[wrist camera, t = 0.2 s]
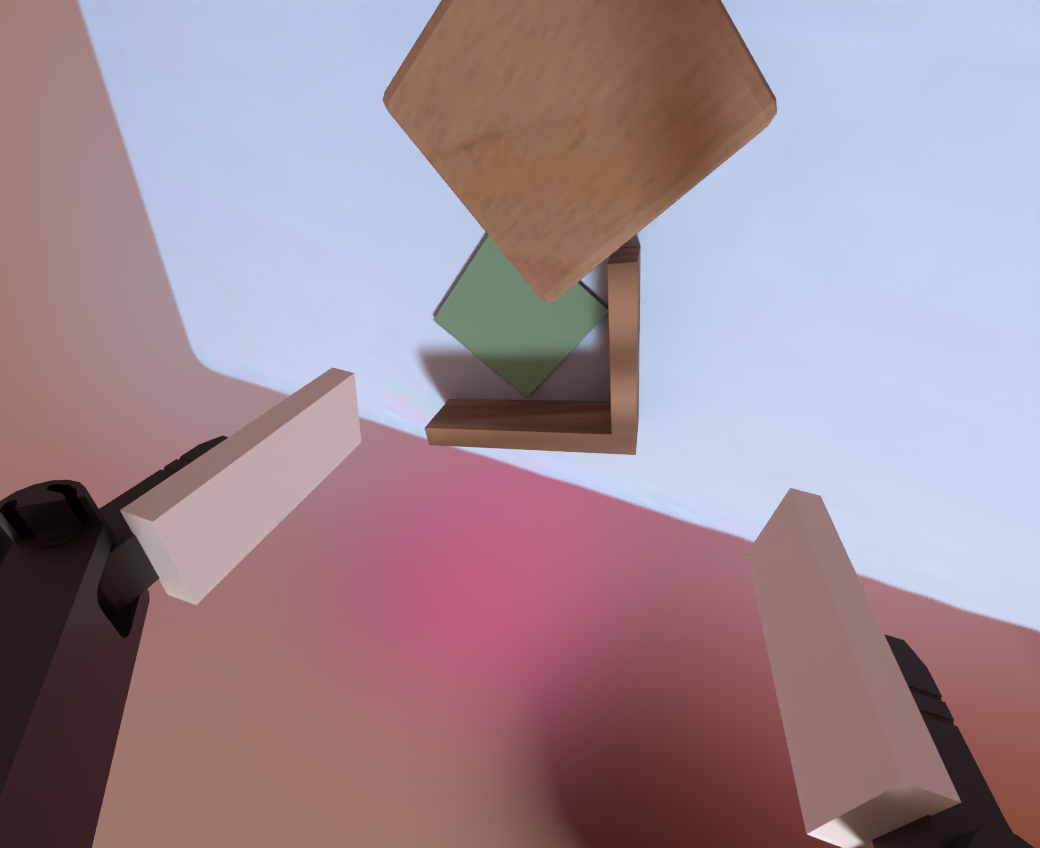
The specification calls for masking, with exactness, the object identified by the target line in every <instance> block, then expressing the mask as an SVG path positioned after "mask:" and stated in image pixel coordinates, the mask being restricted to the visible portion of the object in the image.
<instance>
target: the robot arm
mask: <svg viewBox="0 0 1040 848" xmlns="http://www.w3.org/2000/svg"><path fill="white" fill-rule="evenodd" d="M360 443H361V437H360V426H359V416H358V406H357V396H356V387H355V377H354V373H351V372H348V371H344V370H340V369H336V368H331V369H330V370H328V371H327V372H325V373H324V374H322V375H321V376H319V377H318V378H316V379H315V380H313V381H312V382H310V383H309V384H307V385H306V386H304V387H303V388H301V389H300V390H298V391H297V392H295V393H294V394H292V395H291V396H289V397H288V398H287V399H285V400H283V401H282V402H280V403H279V404H278V405H276V406H275V407H273V408H271V409H270V410H269V411H267V412H266V413H264V414H263V415H261V416H260V417H258V418H257V419H255V420H254V421H252V422H251V423H249V424H248V425H246V426H245V427H243V428H242V429H240V430H239V431H237V432H236V433H234V434H233V435H231V436H230V437H225V436H220V437H218V438H215V439H213V440H210V441H207V442H204V443H202V444H199V445H198V446H196V447H195V448H193V449H191V450H190V451H188V452H187V453H185V454H184V455H182V456H181V457H180V459H179V460H177V459H176V460H174V461H173V462H171V463H170V464H168V465H167V466H165V467H164V470H159V471H157V472H156V473H154V474H153V475H151V476H150V477H148V478H146V479H145V480H143V481H142V482H140V483H139V484H137V485H136V486H134V487H133V488H131V489H129V490H128V491H126V492H125V493H123V494H122V495H120V496H119V497H117V498H115V499H114V500H112V501H111V502H109V503H108V504H106V505H105V506H103V507H101V508H100V509H98V507H97V506H96V504H95V502H94V501H93V499H92V498H91V496H90V494H89V492H88V491H87V489H86V488H85V487H84V486H83V485H82V484H81V483H80V482H76V481H71V480H53V481H48V482H43V483H39V484H35V485H32V486H29V487H27V488H24V489H21V490H19V491H16V492H15V493H13V494H11V495H9V496H8V497H6V498H5V499H3V500H1V501H0V848H92V844H93V840H94V835H95V832H96V827H97V823H98V818H99V814H100V810H101V806H102V801H103V797H104V793H105V789H106V784H107V780H108V776H109V771H110V767H111V763H112V759H113V754H114V750H115V746H116V741H117V737H118V733H119V729H120V724H121V720H122V716H123V712H124V707H125V703H126V699H127V695H128V690H129V686H130V682H131V677H132V673H133V668H134V665H135V660H136V656H137V652H138V647H139V643H140V639H141V634H142V630H143V626H144V621H145V618H146V613H147V609H148V605H149V591H148V590H147V588H149V587H150V586H151V585H152V584H153V583H154V582H156V581H157V580H158V579H159V580H160V582H161V583H162V585H163V587H164V589H165V591H166V592H167V594H168V595H170V596H173V597H176V598H178V599H181V600H184V601H186V602H189V603H192V604H195V605H196V604H198V603H199V602H200V601H201V600H202V599H203V598H204V597H205V596H206V595H207V594H208V593H209V592H210V591H211V590H212V588H214V587H215V586H216V585H217V584H218V583H219V582H220V581H221V580H222V579H223V578H224V577H225V576H226V575H227V574H228V573H229V572H230V571H231V570H232V569H233V568H234V567H235V566H236V565H237V564H238V563H239V562H240V561H241V560H242V559H243V558H244V557H245V556H246V555H247V554H248V553H249V552H250V551H251V550H252V549H253V548H254V547H255V546H256V545H257V544H258V543H259V542H260V541H261V540H262V539H264V538H265V536H267V535H268V534H269V533H270V532H271V531H272V530H273V529H274V528H275V527H276V526H277V525H278V524H279V523H280V522H281V521H282V520H283V519H284V518H285V517H286V516H287V515H288V514H289V513H290V512H291V511H292V510H293V509H294V508H295V507H296V506H297V505H298V504H299V503H300V502H301V501H302V500H303V499H304V498H305V497H306V496H307V495H308V494H309V493H310V492H311V491H312V490H313V489H314V488H315V487H316V486H317V485H318V484H319V483H320V482H321V481H322V480H323V479H324V478H325V477H326V476H327V475H328V474H329V473H330V472H331V471H332V470H333V469H335V467H337V465H338V464H340V462H342V461H343V460H344V459H345V458H346V457H347V456H348V455H349V454H350V453H351V452H352V451H353V450H354V449H355V448H356V447H357V446H358V445H359V444H360ZM747 557H748V561H749V566H750V570H751V576H752V580H753V585H754V590H755V594H756V599H757V604H758V608H759V613H760V618H761V622H762V627H763V632H764V636H765V641H766V646H767V650H768V655H769V660H770V665H771V669H772V674H773V679H774V683H775V688H776V692H777V697H778V702H779V707H780V712H781V716H782V721H783V725H784V730H785V735H786V739H787V744H788V749H789V754H790V758H791V763H792V767H793V772H794V777H795V781H796V787H797V791H798V796H799V800H800V805H801V810H802V815H803V819H804V824H805V828H806V833H807V834H808V835H810V836H813V837H816V838H818V839H821V840H824V841H826V842H829V843H832V844H834V845H837V846H840V847H842V848H860V847H862V846H864V845H867V844H869V843H871V842H873V845H874V848H1034V847H1032V846H1031V845H1030V844H1028V843H1027V842H1026V841H1024V840H1023V839H1022V838H1020V837H1019V836H1017V835H1015V834H1014V833H1013V832H1012V830H1011V828H1010V827H1009V825H1008V824H1007V822H1006V820H1005V818H1004V816H1003V815H1002V812H1001V810H1000V808H999V807H998V805H997V803H996V801H995V799H994V797H993V795H992V793H991V791H990V789H989V787H988V785H987V783H986V781H985V779H984V777H983V776H982V773H981V771H980V770H979V768H978V766H977V764H976V762H975V760H974V758H973V756H972V754H971V752H970V750H969V748H968V746H967V744H966V742H965V740H964V739H963V736H962V734H961V733H960V731H959V729H958V727H957V726H955V725H954V724H953V721H954V719H953V717H952V715H951V713H950V711H949V709H948V707H947V705H946V703H945V702H943V701H942V700H941V697H942V695H941V694H940V692H939V690H938V688H937V686H936V684H935V682H934V680H933V678H932V676H931V674H930V672H929V670H928V668H927V667H926V666H925V664H924V663H923V662H922V661H921V660H920V659H919V657H918V656H917V655H916V654H915V653H914V651H913V650H912V649H911V648H910V647H909V646H908V644H907V643H906V642H905V641H904V640H901V639H898V638H895V637H891V636H888V635H885V634H884V633H883V631H882V629H881V627H880V624H879V623H878V620H877V618H876V616H875V614H874V611H873V609H872V607H871V605H870V603H869V600H868V598H867V596H866V594H865V592H864V590H863V587H862V585H861V584H860V581H859V579H858V577H857V574H856V572H855V570H854V568H853V566H852V564H851V561H850V559H849V557H848V555H847V553H846V550H845V548H844V546H843V544H842V542H841V540H840V537H839V535H838V533H837V531H836V529H835V527H834V524H833V522H832V520H831V518H830V516H829V513H828V511H827V509H826V507H825V505H824V503H823V500H822V498H821V496H819V495H815V494H811V493H807V492H804V491H800V490H796V489H792V488H790V489H789V491H788V492H787V494H786V495H785V497H784V498H783V500H782V501H781V503H780V504H779V506H778V507H777V509H776V511H775V512H774V514H773V515H772V517H771V518H770V520H769V521H768V523H767V524H766V526H765V527H764V529H763V530H762V532H761V533H760V535H759V536H758V538H757V539H756V541H755V542H754V544H753V545H752V547H751V548H750V550H749V551H748V553H747Z"/></svg>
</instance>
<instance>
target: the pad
mask: <svg viewBox="0 0 1040 848" xmlns="http://www.w3.org/2000/svg"><path fill="white" fill-rule="evenodd" d="M608 312H609V309H608V308H607V307H606V306H605V305H604V304H602V303H601V302H600V301H599V300H598V299H597V298H596V297H595V296H594V295H592V294H591V293H590V292H589V291H588V290H587V289H586V288H585V287H584V286H583V285H581V284H580V283H579V282H577V283H576V284H575V285H574V286H572V287H571V288H570V289H569V290H568V291H566V292H565V293H564V294H563V295H561V296H560V297H559V298H558V299H557V300H555V301H551V302H548V303H547V302H545V301H543V300H542V299H540V298H539V297H538V295H537V294H536V293H535V292H534V291H533V289H532V288H531V287H530V286H529V284H528V283H527V282H526V281H525V279H524V278H523V277H522V276H521V274H520V273H519V272H518V271H517V270H516V268H515V267H514V266H513V265H512V263H511V262H510V261H509V260H508V258H507V257H506V256H505V255H504V254H503V252H502V251H501V250H500V249H499V247H498V246H497V245H496V244H495V242H494V241H493V240H492V239H491V237H490V236H489V235H488V237H487V238H486V240H485V241H484V243H483V244H482V246H481V247H480V249H479V250H478V252H477V253H476V255H475V256H474V258H473V260H472V261H471V263H470V264H469V266H468V267H467V269H466V270H465V272H464V273H463V275H462V276H461V278H460V279H459V281H458V282H457V284H456V286H455V287H454V289H453V290H452V292H451V293H450V295H449V296H448V298H447V299H446V301H445V302H444V304H443V305H442V307H441V308H440V310H439V312H438V313H437V315H436V316H435V318H434V319H433V320H434V321H435V322H436V323H437V324H439V325H440V326H441V327H442V328H443V329H445V330H446V331H447V332H448V333H449V334H451V335H452V336H453V337H454V338H455V339H457V340H458V341H459V342H460V343H461V344H463V345H464V346H465V347H466V348H467V349H469V350H470V351H471V352H472V353H473V354H475V355H476V356H477V357H478V358H479V359H481V360H482V361H483V362H484V363H485V364H487V365H488V366H489V367H490V368H491V369H493V370H494V371H495V372H496V373H498V374H499V375H500V376H501V377H502V378H504V379H505V380H506V381H507V382H508V383H510V384H511V385H512V386H513V387H514V388H516V389H517V390H518V391H519V392H520V393H522V394H523V395H524V396H525V397H526V398H527V397H528V396H529V395H530V394H531V393H532V392H533V391H534V390H535V389H536V388H537V386H538V385H539V384H540V383H541V382H542V381H543V380H544V379H545V378H546V377H547V376H548V375H549V374H550V373H551V372H552V371H553V370H554V369H555V368H556V367H557V366H558V365H559V364H560V362H561V361H562V360H563V359H564V358H565V357H566V356H567V355H568V354H569V353H570V352H571V351H572V350H573V349H574V348H575V347H576V346H577V345H578V344H579V343H580V342H581V341H582V340H583V338H584V337H585V336H586V335H587V334H588V333H589V332H590V331H591V330H592V329H593V328H594V327H595V326H596V325H597V324H598V323H599V322H600V321H601V320H602V319H603V318H604V317H605V316H606V314H607V313H608Z"/></svg>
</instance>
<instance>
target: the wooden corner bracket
mask: <svg viewBox="0 0 1040 848" xmlns="http://www.w3.org/2000/svg"><path fill="white" fill-rule="evenodd" d="M607 267H608V308H609V348H610V388H611V401H537V400H460V399H449V400H448V401H447V402H446V404H445V405H444V406H443V407H442V408H441V410H440V411H439V412H438V413H437V414H436V415H435V417H434V418H433V419H432V420H431V421H430V422H429V424H428V425H427V426H426V427H425V431H426V434H427V438H428V442H429V445H440V446H461V447H482V448H503V449H524V450H545V451H565V452H586V453H607V454H628V455H636V444H637V432H638V416H639V331H640V246H639V247H628V248H619V249H617V250H616V251H615V252H614V253H613V254H612V256H611V258H610V260H609V262H608V264H607Z"/></svg>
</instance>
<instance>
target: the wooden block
mask: <svg viewBox="0 0 1040 848" xmlns="http://www.w3.org/2000/svg"><path fill="white" fill-rule="evenodd" d="M383 102H384V104H385V106H386V109H387V110H388V112H389V113H390V114H391V115H392V117H393V118H394V119H395V120H396V122H397V123H398V124H399V125H400V127H401V128H402V129H403V130H404V131H405V133H406V134H407V135H408V136H409V138H410V139H411V140H412V141H413V143H414V144H415V145H416V146H417V147H418V149H419V150H420V151H421V152H422V154H423V155H424V156H425V157H426V159H427V160H428V161H429V162H430V164H431V165H432V166H433V167H434V168H435V170H436V171H437V172H438V173H439V175H440V176H441V177H442V178H443V180H444V181H445V182H446V183H447V184H448V186H449V187H450V188H451V189H452V191H453V192H454V193H455V194H456V196H457V197H458V198H459V199H460V200H461V202H462V203H463V204H464V205H465V207H466V208H467V209H468V210H469V212H470V213H471V214H472V215H473V217H474V218H475V219H476V220H477V221H478V223H479V224H480V225H481V226H482V228H483V229H484V230H485V231H486V233H487V234H488V235H489V236H490V237H491V239H492V240H493V241H494V242H495V244H496V245H497V246H498V247H499V249H500V250H501V251H502V252H503V254H504V255H505V256H506V257H507V258H508V260H509V261H510V262H511V263H512V265H513V266H514V267H515V268H516V270H517V271H518V272H519V273H520V274H521V276H522V277H523V278H524V279H525V281H526V282H527V283H528V284H529V286H530V287H531V288H532V289H533V291H534V292H535V293H536V294H537V295H538V297H539V298H540V299H542V300H543V301H545V302H547V303H548V302H551V301H555V300H557V299H558V298H559V297H560V296H561V295H563V294H564V293H565V292H566V291H568V290H569V289H570V288H571V287H572V286H574V285H575V284H576V283H577V282H578V281H580V280H581V279H582V278H583V277H585V276H586V275H587V274H588V273H589V272H591V271H592V270H593V269H594V268H596V267H597V266H598V265H599V264H600V263H602V262H603V261H604V260H605V259H607V258H608V257H609V256H610V255H611V254H613V253H614V252H615V251H616V250H617V249H619V248H620V247H621V246H622V245H624V244H625V243H626V242H627V241H628V240H630V239H631V238H632V237H633V236H635V235H636V234H637V233H638V232H639V231H641V230H642V229H643V228H644V227H646V226H647V225H648V224H649V223H650V222H652V221H653V220H654V219H655V218H657V217H658V216H659V215H660V214H661V213H663V212H664V211H665V210H666V209H667V208H669V207H670V206H671V205H672V204H674V203H675V202H676V201H677V200H678V199H680V198H681V197H682V196H683V195H685V194H686V193H687V192H688V191H689V190H691V189H692V188H693V187H694V186H696V185H697V184H698V183H699V182H700V181H702V180H703V179H704V178H705V177H706V176H708V175H709V174H710V173H711V172H713V171H714V170H715V169H716V168H717V167H719V166H720V165H721V164H722V163H724V162H725V161H726V160H727V159H728V158H730V157H731V156H732V155H733V154H735V153H736V152H737V151H738V150H739V149H741V148H742V147H743V146H744V145H746V144H747V143H748V142H749V141H750V140H752V139H753V138H754V137H755V136H756V135H758V134H759V133H760V132H761V131H763V130H764V129H765V128H766V127H767V126H768V125H769V124H770V122H771V121H772V119H773V118H774V116H775V115H776V113H777V106H776V98H775V96H774V94H773V92H772V91H771V89H770V87H769V85H768V83H767V82H766V80H765V78H764V76H763V75H762V73H761V71H760V69H759V67H758V66H757V64H756V62H755V60H754V59H753V57H752V55H751V53H750V51H749V50H748V48H747V46H746V44H745V43H744V41H743V39H742V37H741V35H740V34H739V32H738V30H737V28H736V27H735V25H734V23H733V21H732V19H731V18H730V16H729V14H728V12H727V11H726V9H725V7H724V5H723V3H722V2H721V0H442V1H441V2H440V4H439V6H438V7H437V9H436V10H435V12H434V14H433V15H432V17H431V18H430V20H429V22H428V23H427V25H426V26H425V28H424V30H423V31H422V33H421V34H420V36H419V38H418V39H417V41H416V42H415V44H414V46H413V47H412V49H411V50H410V52H409V54H408V55H407V57H406V58H405V60H404V62H403V63H402V65H401V66H400V68H399V70H398V71H397V73H396V75H395V76H394V78H393V79H392V81H391V83H390V84H389V86H388V87H387V89H386V91H385V93H384V97H383Z"/></svg>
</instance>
